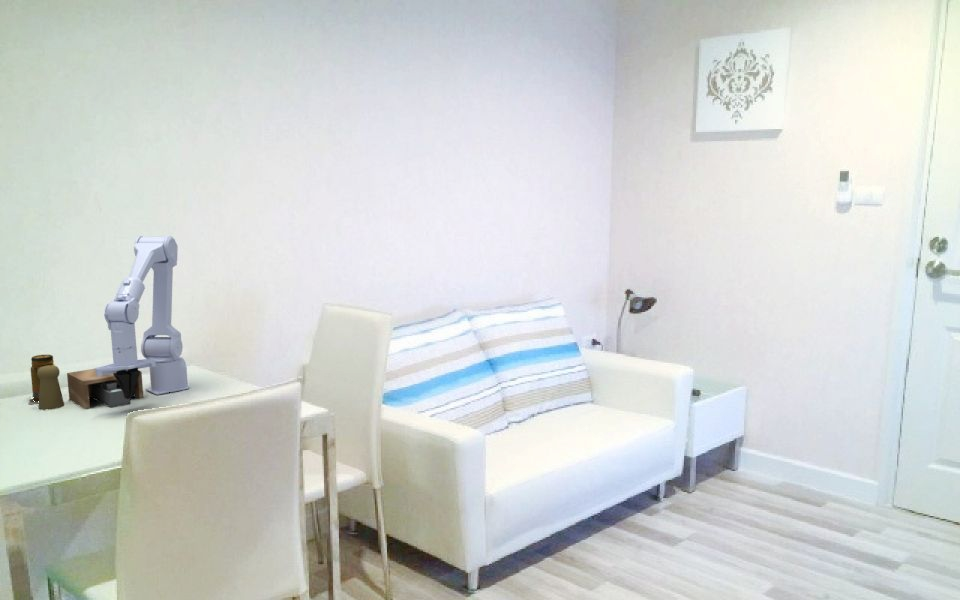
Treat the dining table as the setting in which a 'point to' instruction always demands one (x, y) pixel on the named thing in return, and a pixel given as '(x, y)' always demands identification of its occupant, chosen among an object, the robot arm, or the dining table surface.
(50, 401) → the cork
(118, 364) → the robot arm
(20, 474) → the dining table surface
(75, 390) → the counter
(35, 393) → the condiment
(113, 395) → the tray
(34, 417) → the dining table surface
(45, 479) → the dining table surface
